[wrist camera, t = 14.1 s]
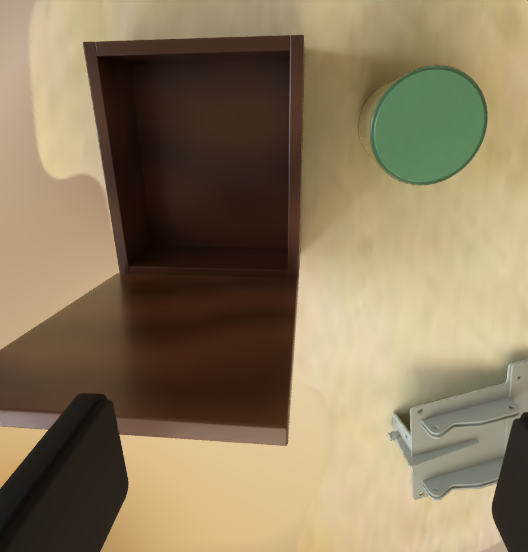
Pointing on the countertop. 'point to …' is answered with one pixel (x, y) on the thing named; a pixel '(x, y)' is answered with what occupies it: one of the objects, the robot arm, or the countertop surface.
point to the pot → (424, 124)
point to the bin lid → (163, 358)
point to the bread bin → (202, 152)
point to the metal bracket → (462, 436)
